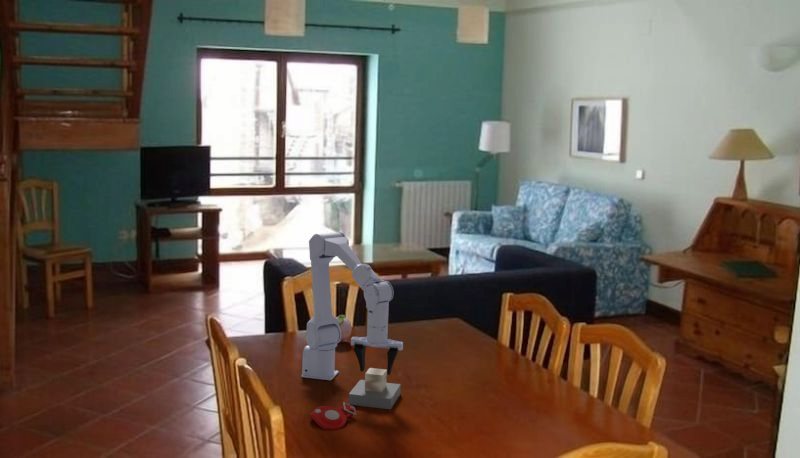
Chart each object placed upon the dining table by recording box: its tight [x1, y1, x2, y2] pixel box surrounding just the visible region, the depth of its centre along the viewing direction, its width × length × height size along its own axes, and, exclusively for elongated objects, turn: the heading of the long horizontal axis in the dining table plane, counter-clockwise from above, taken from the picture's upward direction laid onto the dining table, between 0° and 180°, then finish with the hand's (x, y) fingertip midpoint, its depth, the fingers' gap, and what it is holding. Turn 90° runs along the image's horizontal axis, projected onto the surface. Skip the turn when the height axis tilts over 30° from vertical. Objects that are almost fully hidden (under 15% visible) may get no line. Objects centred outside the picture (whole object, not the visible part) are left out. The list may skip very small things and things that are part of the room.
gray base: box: [347, 379, 402, 410], centre depth 225 cm, size 12×12×3 cm
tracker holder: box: [309, 401, 357, 430], centre depth 209 cm, size 12×4×10 cm
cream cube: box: [364, 367, 388, 393], centre depth 225 cm, size 5×5×5 cm
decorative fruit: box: [334, 314, 353, 343], centre depth 276 cm, size 9×8×10 cm
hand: (375, 372), depth 224 cm, fingers open, 7 cm apart
